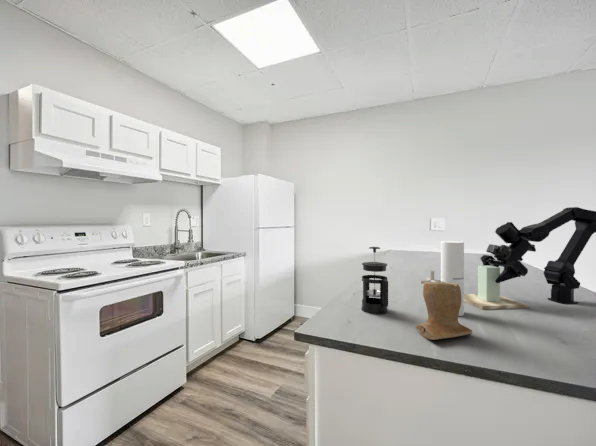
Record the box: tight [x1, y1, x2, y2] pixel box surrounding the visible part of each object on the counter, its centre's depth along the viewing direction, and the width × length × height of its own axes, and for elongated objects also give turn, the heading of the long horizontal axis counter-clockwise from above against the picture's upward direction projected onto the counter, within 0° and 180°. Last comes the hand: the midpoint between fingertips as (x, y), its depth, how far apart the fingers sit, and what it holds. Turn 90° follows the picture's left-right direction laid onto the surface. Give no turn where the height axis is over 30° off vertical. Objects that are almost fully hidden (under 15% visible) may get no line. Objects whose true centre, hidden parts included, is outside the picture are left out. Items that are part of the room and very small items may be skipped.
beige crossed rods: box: [419, 269, 441, 285], centre depth 126 cm, size 10×10×10 cm
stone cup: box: [415, 282, 473, 341], centre depth 81 cm, size 15×12×15 cm
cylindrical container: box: [440, 240, 465, 317], centre depth 99 cm, size 7×7×25 cm
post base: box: [464, 293, 528, 310], centre depth 112 cm, size 18×16×5 cm
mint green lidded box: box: [477, 265, 501, 301], centre depth 111 cm, size 5×5×13 cm
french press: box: [361, 246, 389, 315], centre depth 102 cm, size 12×9×23 cm
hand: (487, 279), depth 112 cm, fingers open, 9 cm apart
